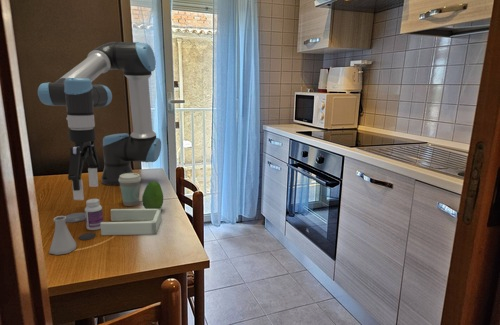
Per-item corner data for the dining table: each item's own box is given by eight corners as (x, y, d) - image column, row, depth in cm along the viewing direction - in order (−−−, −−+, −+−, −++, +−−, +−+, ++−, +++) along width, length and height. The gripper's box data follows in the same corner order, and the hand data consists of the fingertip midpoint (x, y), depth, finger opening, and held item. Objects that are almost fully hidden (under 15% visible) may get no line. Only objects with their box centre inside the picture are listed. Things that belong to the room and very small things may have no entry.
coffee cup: (135, 208, 129) (133, 179, 126) (115, 206, 131) (113, 177, 128) (146, 201, 137) (144, 173, 134) (127, 199, 139) (125, 171, 136)
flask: (56, 243, 100) (52, 212, 98) (81, 243, 101) (78, 213, 99) (43, 255, 93) (39, 223, 91) (70, 255, 94) (67, 223, 92)
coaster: (68, 213, 122) (68, 212, 122) (91, 213, 123) (91, 212, 123) (59, 222, 114) (59, 221, 114) (83, 222, 115) (83, 221, 115)
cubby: (112, 219, 118) (111, 209, 118) (161, 218, 121) (161, 208, 120) (101, 235, 107) (100, 223, 106) (155, 234, 109) (155, 222, 108)
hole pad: (82, 233, 107) (81, 232, 107) (98, 232, 108) (98, 232, 108) (75, 240, 103) (75, 240, 103) (92, 240, 103) (92, 239, 103)
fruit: (138, 210, 127) (136, 181, 124) (156, 205, 133) (155, 177, 130) (149, 216, 122) (148, 185, 119) (167, 211, 128) (167, 181, 125)
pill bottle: (107, 225, 114) (105, 199, 111) (95, 231, 109) (93, 204, 106) (94, 222, 115) (92, 196, 113) (82, 229, 110) (80, 201, 108)
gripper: (83, 123, 115) (88, 181, 120) (50, 133, 91) (57, 206, 96) (106, 123, 116) (109, 181, 121) (79, 134, 92) (84, 206, 97)
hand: (86, 192), depth 109 cm, fingers open, 13 cm apart
